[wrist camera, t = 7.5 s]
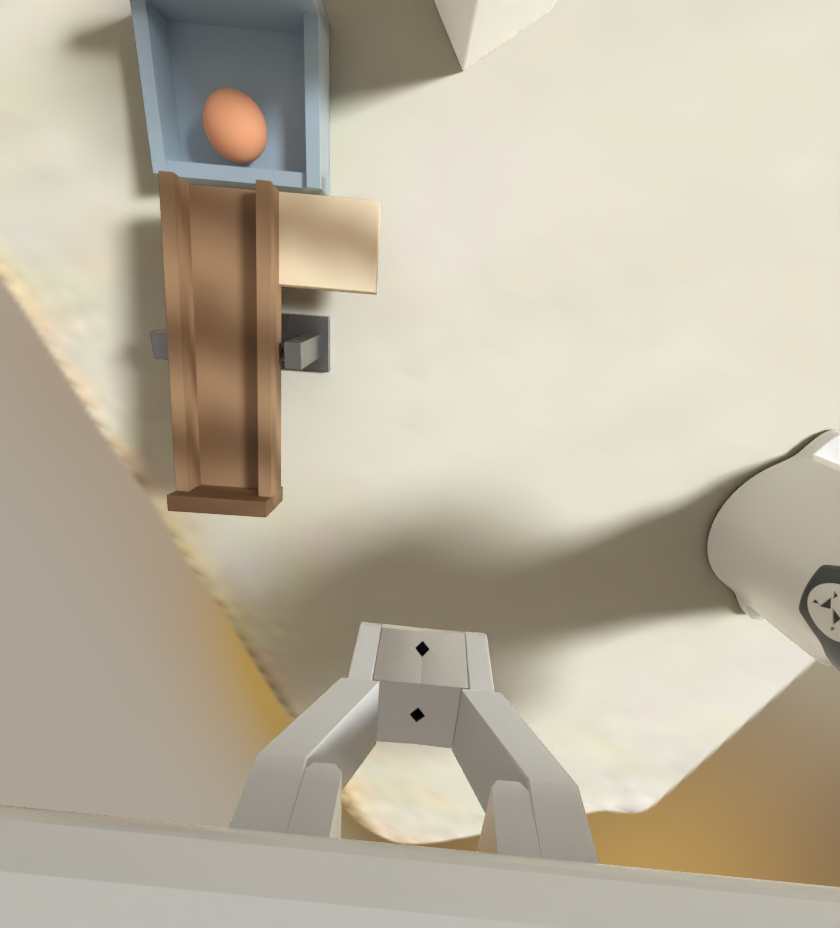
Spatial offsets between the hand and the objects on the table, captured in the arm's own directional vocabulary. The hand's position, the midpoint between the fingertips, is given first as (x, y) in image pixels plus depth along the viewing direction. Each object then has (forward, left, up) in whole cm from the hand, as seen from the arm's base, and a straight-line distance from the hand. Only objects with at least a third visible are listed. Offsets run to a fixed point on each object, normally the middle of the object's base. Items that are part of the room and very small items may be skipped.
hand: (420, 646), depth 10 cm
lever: (+9, -3, -21) cm, 23 cm away
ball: (+12, -16, -23) cm, 31 cm away
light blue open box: (+12, -18, -26) cm, 33 cm away
